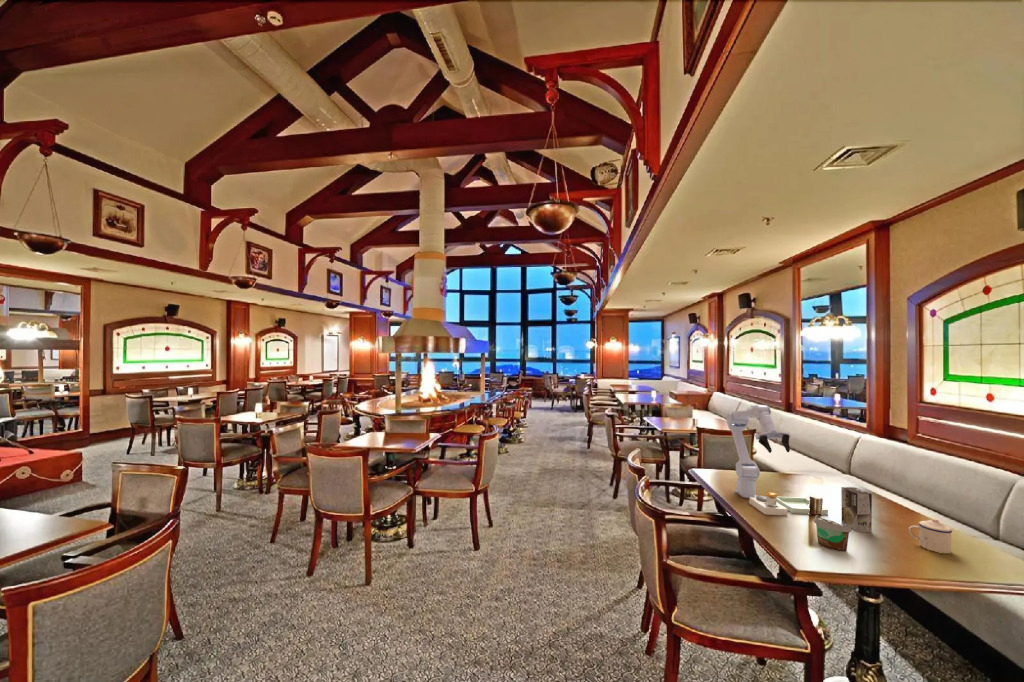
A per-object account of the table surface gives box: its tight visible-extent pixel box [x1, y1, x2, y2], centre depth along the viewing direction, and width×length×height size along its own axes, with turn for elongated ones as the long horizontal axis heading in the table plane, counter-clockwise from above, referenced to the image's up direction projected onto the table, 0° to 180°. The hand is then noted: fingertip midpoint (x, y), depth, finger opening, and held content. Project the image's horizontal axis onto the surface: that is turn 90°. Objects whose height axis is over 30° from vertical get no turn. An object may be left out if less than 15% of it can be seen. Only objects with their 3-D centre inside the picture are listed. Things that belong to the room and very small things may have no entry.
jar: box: [765, 491, 778, 507], centre depth 195 cm, size 5×5×8 cm
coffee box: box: [840, 486, 873, 533], centre depth 180 cm, size 9×6×16 cm
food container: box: [813, 515, 852, 553], centre depth 160 cm, size 12×6×10 cm, turn 22°
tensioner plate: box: [749, 495, 788, 516], centre depth 198 cm, size 14×10×4 cm
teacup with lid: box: [908, 517, 953, 554], centre depth 162 cm, size 12×9×12 cm
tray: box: [776, 495, 829, 516], centre depth 201 cm, size 16×16×2 cm
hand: (779, 451), depth 190 cm, fingers open, 7 cm apart
